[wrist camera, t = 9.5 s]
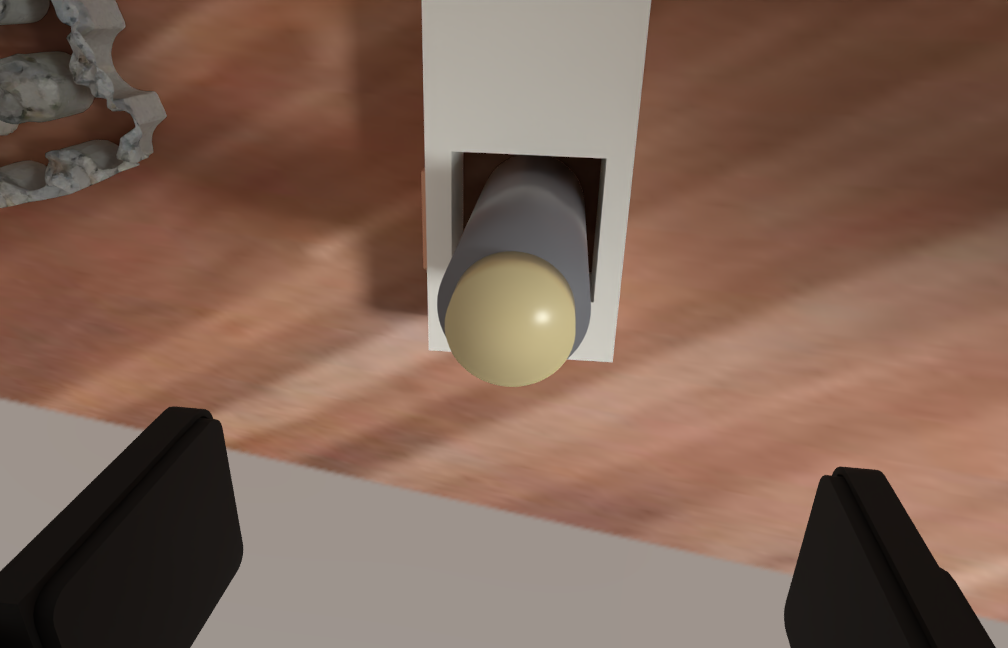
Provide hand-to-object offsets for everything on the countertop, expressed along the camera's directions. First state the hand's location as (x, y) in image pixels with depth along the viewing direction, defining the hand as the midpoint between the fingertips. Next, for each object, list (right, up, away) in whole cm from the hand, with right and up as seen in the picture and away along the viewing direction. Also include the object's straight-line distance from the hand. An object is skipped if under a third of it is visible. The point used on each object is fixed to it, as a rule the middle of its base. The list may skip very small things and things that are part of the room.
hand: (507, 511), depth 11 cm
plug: (+1, +8, +16) cm, 18 cm away
